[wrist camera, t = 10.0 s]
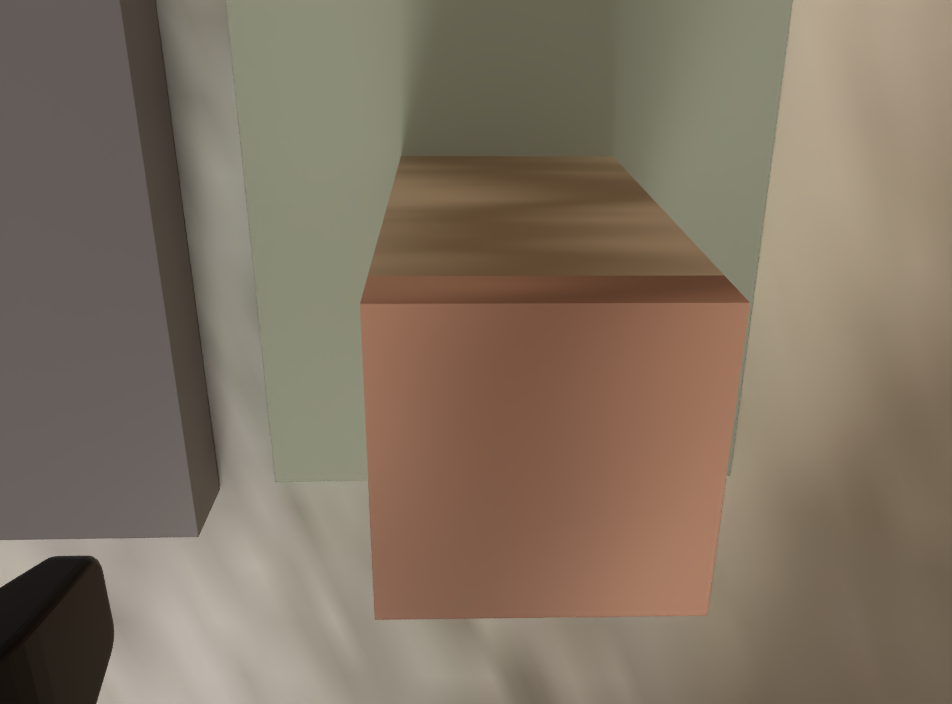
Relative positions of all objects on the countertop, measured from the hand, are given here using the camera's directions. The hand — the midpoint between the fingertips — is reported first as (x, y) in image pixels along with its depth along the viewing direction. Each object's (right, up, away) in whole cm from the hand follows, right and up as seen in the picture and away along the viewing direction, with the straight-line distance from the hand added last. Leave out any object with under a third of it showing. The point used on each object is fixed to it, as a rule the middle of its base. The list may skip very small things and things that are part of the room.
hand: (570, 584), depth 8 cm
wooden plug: (0, +4, +11) cm, 11 cm away
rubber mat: (0, +4, +11) cm, 12 cm away
